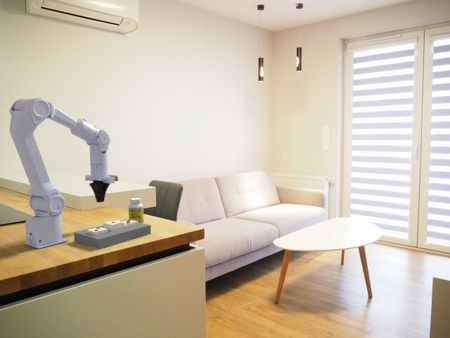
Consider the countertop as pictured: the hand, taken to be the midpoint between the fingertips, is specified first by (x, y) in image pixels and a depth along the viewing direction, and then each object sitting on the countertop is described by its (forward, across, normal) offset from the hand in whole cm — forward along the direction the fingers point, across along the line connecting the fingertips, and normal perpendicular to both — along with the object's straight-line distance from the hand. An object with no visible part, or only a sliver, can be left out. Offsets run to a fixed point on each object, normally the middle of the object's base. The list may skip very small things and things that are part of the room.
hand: (100, 202), depth 127 cm
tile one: (+7, -14, +5) cm, 17 cm away
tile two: (+8, -14, +11) cm, 20 cm away
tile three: (+8, -14, -1) cm, 16 cm away
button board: (+9, -14, +5) cm, 18 cm away
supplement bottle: (+10, -6, -11) cm, 16 cm away
